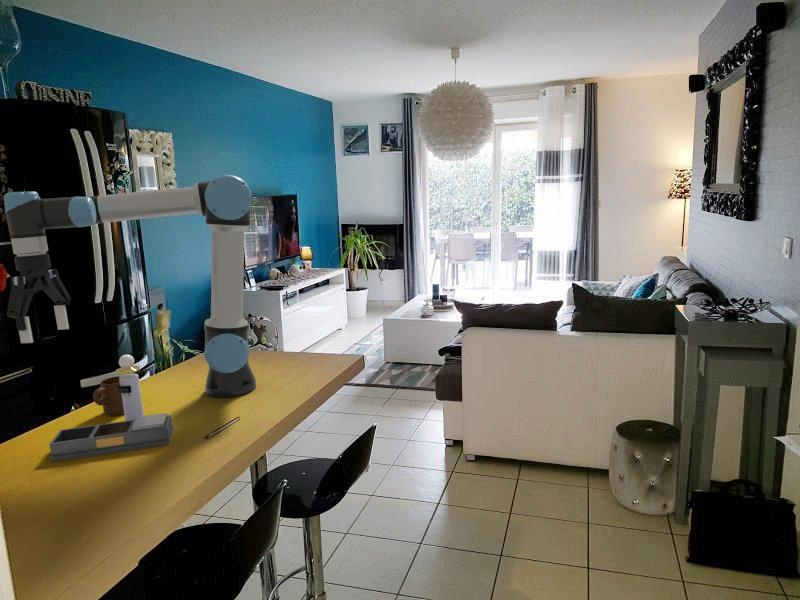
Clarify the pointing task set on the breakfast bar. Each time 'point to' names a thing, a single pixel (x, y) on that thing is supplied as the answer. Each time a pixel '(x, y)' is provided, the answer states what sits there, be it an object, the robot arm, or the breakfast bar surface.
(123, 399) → the perfume bottle
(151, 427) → the rack
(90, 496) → the breakfast bar surface
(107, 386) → the mug
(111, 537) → the breakfast bar surface
